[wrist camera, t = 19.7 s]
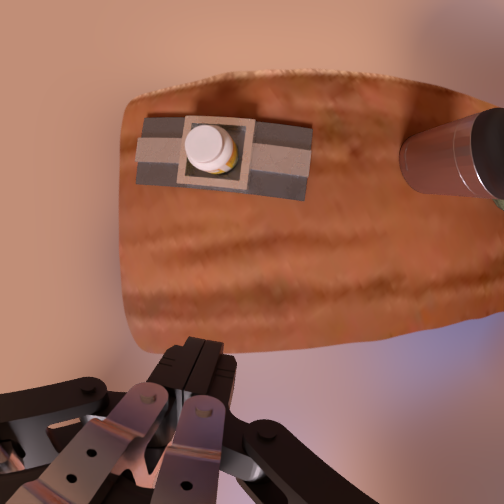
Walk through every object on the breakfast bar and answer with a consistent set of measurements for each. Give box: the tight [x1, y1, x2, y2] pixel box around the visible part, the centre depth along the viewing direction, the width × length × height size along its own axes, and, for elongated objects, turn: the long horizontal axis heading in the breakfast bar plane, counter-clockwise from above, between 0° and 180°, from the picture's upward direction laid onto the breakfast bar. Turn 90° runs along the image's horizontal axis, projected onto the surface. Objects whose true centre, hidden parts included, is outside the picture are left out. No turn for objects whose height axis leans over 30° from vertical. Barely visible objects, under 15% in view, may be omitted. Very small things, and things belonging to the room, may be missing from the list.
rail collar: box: [135, 116, 313, 201], centre depth 35 cm, size 24×10×4 cm, turn 83°
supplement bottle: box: [185, 125, 239, 175], centre depth 31 cm, size 5×5×10 cm
